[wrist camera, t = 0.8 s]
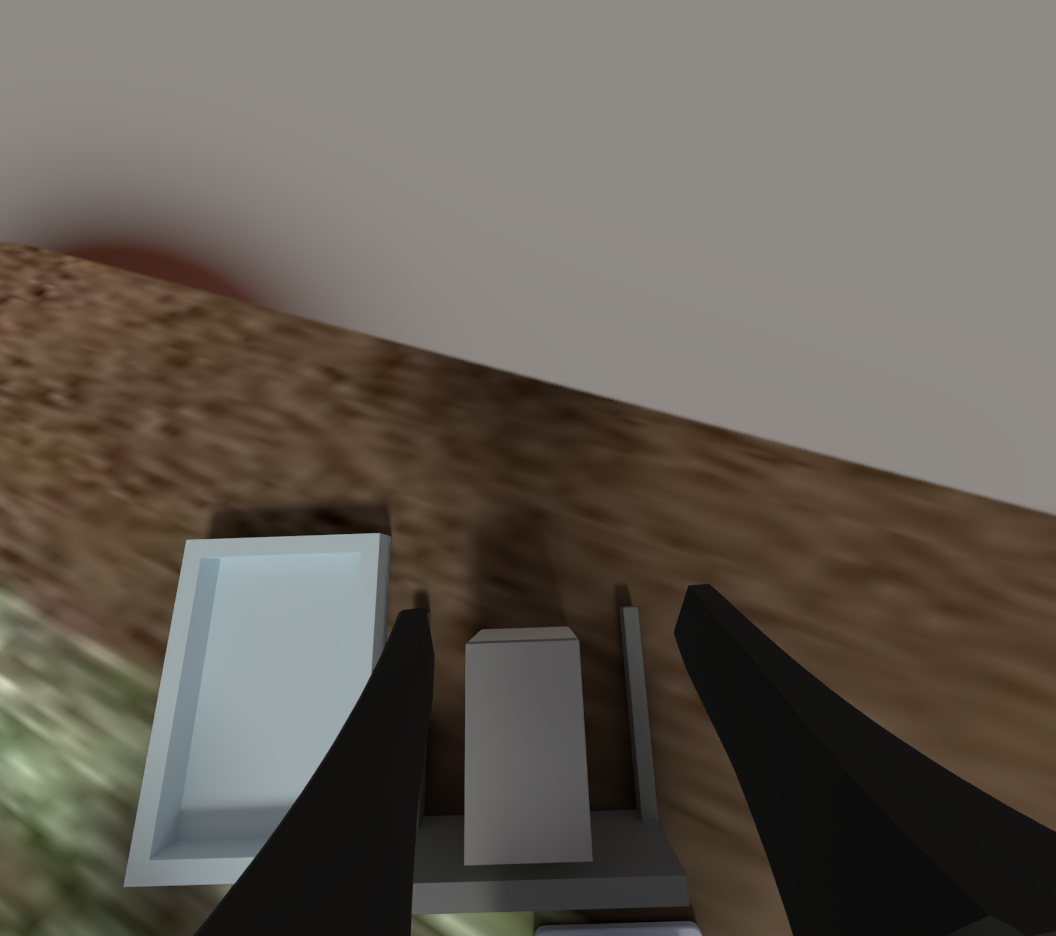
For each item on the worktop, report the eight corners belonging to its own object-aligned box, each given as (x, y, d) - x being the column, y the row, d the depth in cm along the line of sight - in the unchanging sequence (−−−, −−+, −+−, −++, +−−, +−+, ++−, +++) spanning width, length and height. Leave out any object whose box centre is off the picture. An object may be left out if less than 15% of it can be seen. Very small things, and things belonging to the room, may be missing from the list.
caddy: (577, 787, 22) (592, 861, 16) (482, 790, 22) (464, 865, 16) (568, 626, 24) (579, 640, 18) (482, 629, 24) (465, 644, 18)
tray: (375, 852, 21) (358, 879, 19) (160, 859, 21) (123, 887, 19) (391, 536, 25) (379, 533, 23) (212, 543, 25) (186, 540, 24)
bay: (654, 832, 21) (689, 906, 16) (408, 839, 21) (371, 915, 16) (632, 606, 24) (657, 612, 19) (416, 613, 24) (387, 621, 19)
